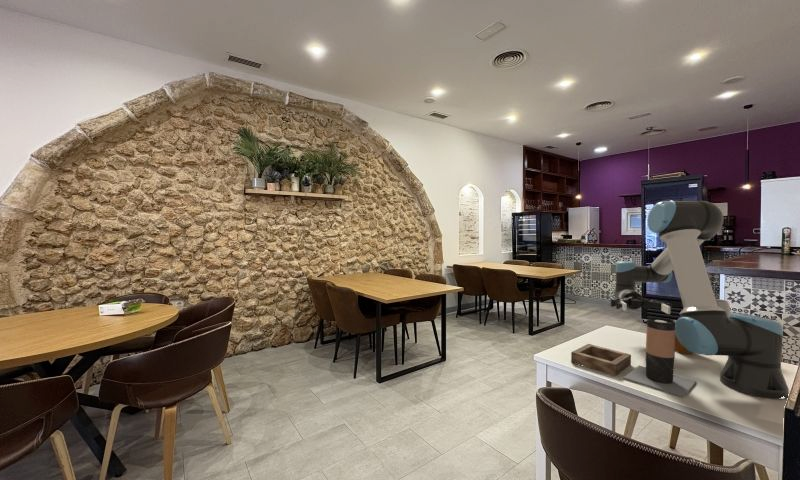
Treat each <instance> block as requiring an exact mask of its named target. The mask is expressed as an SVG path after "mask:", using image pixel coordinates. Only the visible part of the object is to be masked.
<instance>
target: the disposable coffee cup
mask: <svg viewBox="0 0 800 480" xmlns="http://www.w3.org/2000/svg"><path fill="white" fill-rule="evenodd" d="M677 320H678V319H677ZM677 320H675V319H673V321H675V322H676V321H677ZM675 326H676V324H675ZM675 353H679V354H683V355H693V354H694V353H692V352H690V351H688V350H687V349H686V348H685V347H683V346H682V345H681V343H680V342H679V340H678V339H677V336H676V334H675Z"/></svg>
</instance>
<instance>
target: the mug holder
mask: <svg viewBox="0 0 800 480" xmlns="http://www.w3.org/2000/svg"><path fill="white" fill-rule="evenodd" d="M570 356H571V359H570V360H571V361H570V363H572V362H574V363H573V364H575V363H577V364H576V365H578V364H580V365H579V366H581V365H583V366H582V367H584V366H586V367H585V368H588V367H589V368H588V369H591V368H592V370H595V371H597V372H601V373H604V374H607V375H611V376H614V377H616V376H618V375H620V373H622V372H623V371H625V370H626V369H627V368H629V367H630V366H631V365H632V354H631V353H630V354H629V353H626V352H622V351H618V350H614V349H611V348H607V347H603V346H599V345H595V344H591V343H587V344H586V345H585V344H584V345H583V346H581V347H579V348H576V349H574V350H573V351H571V352H570Z"/></svg>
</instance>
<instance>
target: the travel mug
mask: <svg viewBox="0 0 800 480" xmlns="http://www.w3.org/2000/svg"><path fill="white" fill-rule="evenodd" d="M673 320H674V319H673ZM673 320H672V319H669V318H664V317H658V316H657V317H655V316H654V317H653V316H651V317H649V318H646V338H645V367H646V377H647V378H648V379H650V380H652V381H655V382H658V383H664V384H670V383H672V382H673V375H674V373H675V372H674V369H675V359H676V358H675V355H676V354H675V353H676V351H675V321H673Z"/></svg>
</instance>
